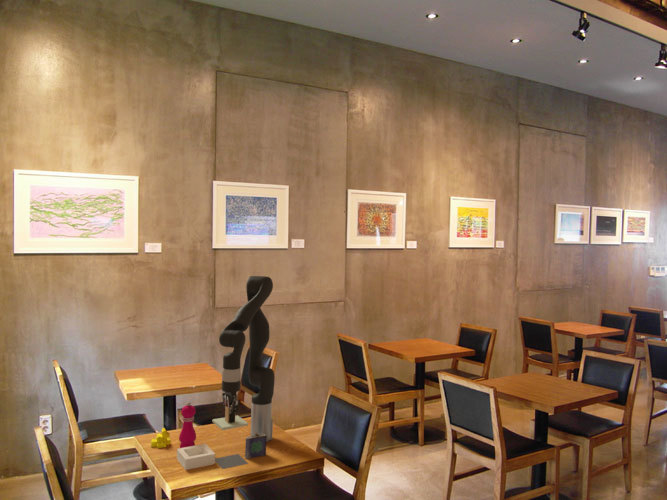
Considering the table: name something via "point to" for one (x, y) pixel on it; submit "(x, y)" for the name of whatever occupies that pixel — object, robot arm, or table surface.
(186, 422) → the pepper mill
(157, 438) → the yellow lumpy cluster
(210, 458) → the dish
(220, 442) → the table surface
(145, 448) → the table surface
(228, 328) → the robot arm
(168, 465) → the table surface
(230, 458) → the mat
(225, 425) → the lid
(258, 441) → the flask
